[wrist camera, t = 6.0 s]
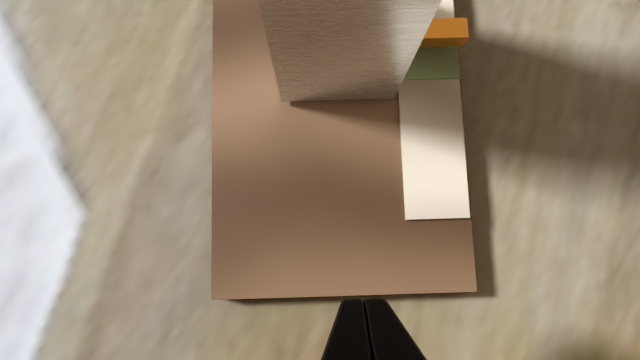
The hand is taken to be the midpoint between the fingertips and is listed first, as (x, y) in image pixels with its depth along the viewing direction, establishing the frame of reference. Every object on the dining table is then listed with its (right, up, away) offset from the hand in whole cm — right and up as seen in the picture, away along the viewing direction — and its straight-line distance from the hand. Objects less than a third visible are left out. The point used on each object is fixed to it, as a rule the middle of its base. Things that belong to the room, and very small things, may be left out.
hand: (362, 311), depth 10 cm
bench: (0, +7, +9) cm, 12 cm away
